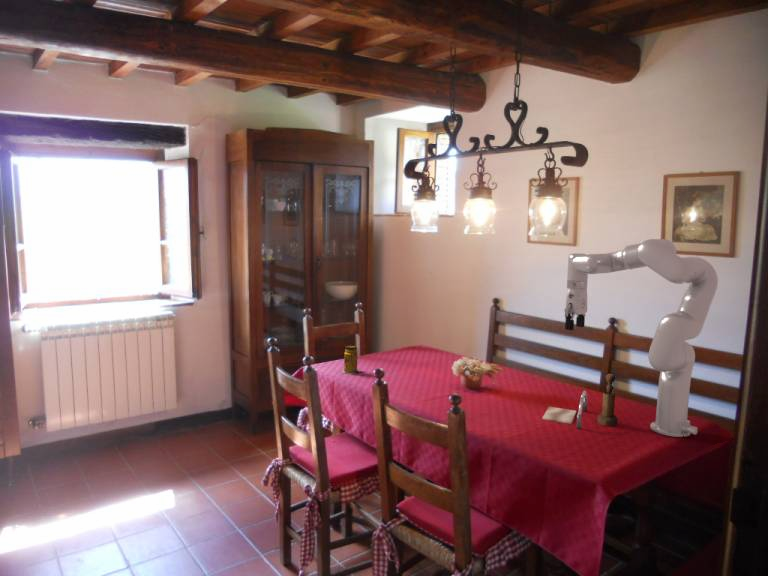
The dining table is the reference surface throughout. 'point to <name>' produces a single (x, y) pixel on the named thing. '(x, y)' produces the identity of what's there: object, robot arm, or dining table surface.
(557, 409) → the birch board
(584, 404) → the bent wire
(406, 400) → the dining table surface
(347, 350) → the condiment
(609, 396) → the mortar and pestle
